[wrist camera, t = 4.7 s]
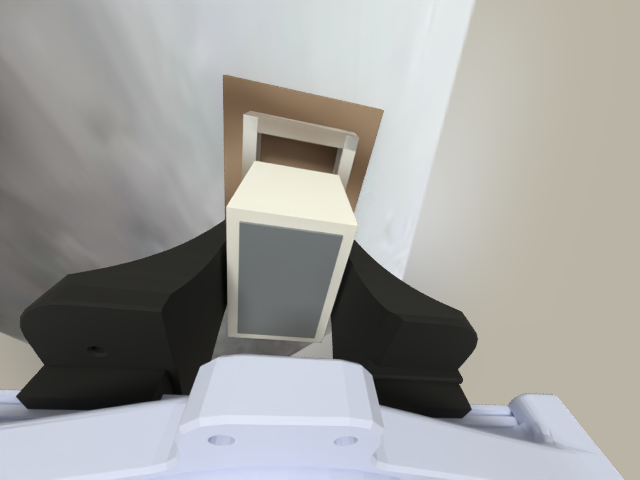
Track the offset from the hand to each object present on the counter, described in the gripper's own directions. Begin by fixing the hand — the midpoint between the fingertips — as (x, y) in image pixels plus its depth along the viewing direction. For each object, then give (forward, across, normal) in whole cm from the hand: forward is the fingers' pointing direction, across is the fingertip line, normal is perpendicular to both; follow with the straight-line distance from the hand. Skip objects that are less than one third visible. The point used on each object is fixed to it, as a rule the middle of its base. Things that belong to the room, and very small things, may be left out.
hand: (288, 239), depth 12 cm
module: (+2, 0, 0) cm, 2 cm away
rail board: (+8, 0, +4) cm, 9 cm away
